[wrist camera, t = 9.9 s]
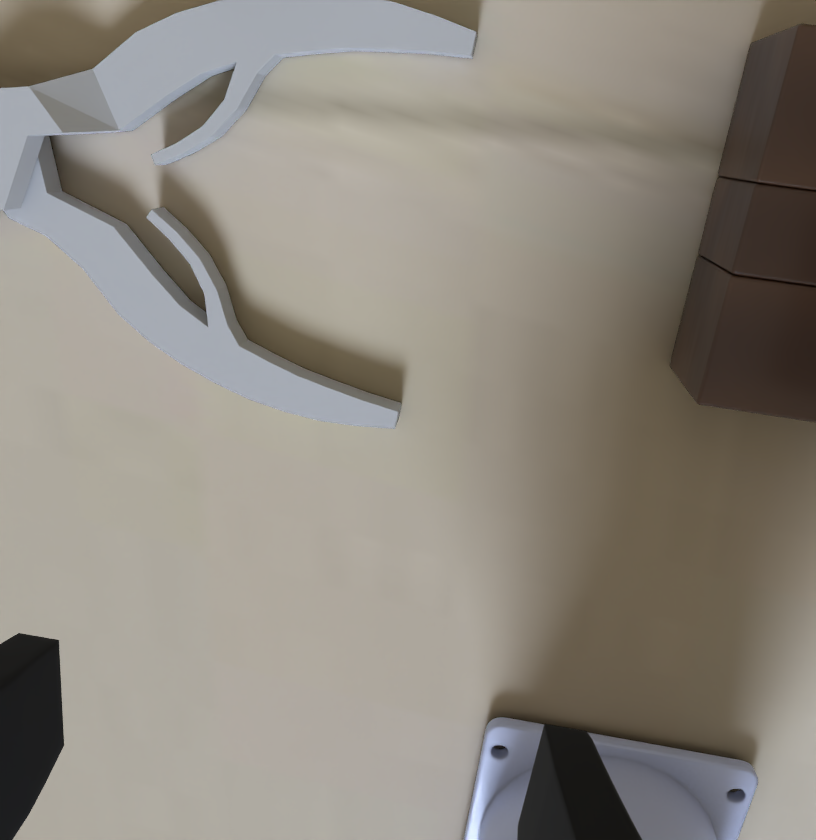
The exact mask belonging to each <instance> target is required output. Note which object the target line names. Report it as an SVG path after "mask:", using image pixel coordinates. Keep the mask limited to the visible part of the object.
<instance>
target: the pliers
mask: <svg viewBox="0 0 816 840" xmlns="http://www.w3.org/2000/svg"><path fill="white" fill-rule="evenodd" d="M476 40H477V33H476V32H475V31H473V30H470V29H468V28H465V27H463V26H460V25H458V24H455V23H453V22H450V21H448V20H445V19H443V18H440V17H438V16H435V15H433V14H430V13H427V12H423V11H420V10H417V9H414V8H411V7H408V6H405V5H402V4H398V3H395V2H392V1H387V0H220V1H215V2H212V3H208V4H205V5H202V6H198V7H195V8H191V9H188V10H185V11H181V12H178V13H175V14H173V15H171V16H169V17H166V18H164V19H162V20H160V21H158V22H156V23H154V24H152V25H150V26H148V27H146V28H144V29H142V30H139V31H137V32H136V33H134V34H133V35H132V36H131V37H130V38H128V39H127V40H126V41H125V42H124V43H123V44H121V45H120V46H119V47H118V48H117V49H115V50H114V51H113V52H112V53H111V54H110V55H108V56H107V57H106V58H105V59H104V60H102V61H101V62H100V63H99V64H98V65H97V66H95V67H94V68H93V69H90V70H87V71H83V72H79V73H76V74H72V75H68V76H65V77H61V78H57V79H54V80H50V81H46V82H43V83H39V84H36V85H32V86H27V87H11V88H0V210H3V211H4V212H5V214H6V215H7V217H8V218H10V219H12V220H14V221H16V222H18V223H20V224H22V225H24V226H26V227H28V228H30V229H32V230H34V231H37V232H39V233H41V234H43V235H45V236H46V237H47V238H49V239H50V240H51V241H52V242H53V243H54V244H55V245H57V246H58V247H59V248H60V249H61V250H62V251H63V252H64V253H66V254H67V255H68V256H69V257H70V258H71V259H72V260H73V261H75V262H76V263H77V264H78V265H79V266H80V267H81V268H82V269H83V270H84V271H85V272H86V273H87V275H88V276H89V277H90V279H91V280H92V281H93V282H94V284H95V285H96V286H97V288H98V289H99V290H100V291H101V293H102V294H103V295H104V297H105V298H106V299H107V300H108V302H109V303H110V304H111V306H112V307H113V308H114V310H115V311H116V312H117V313H118V314H119V315H120V316H121V317H122V318H123V319H124V320H125V321H126V322H128V323H129V324H130V325H131V326H132V327H133V328H134V329H135V330H137V331H138V332H139V333H140V334H141V335H142V336H143V337H144V338H146V339H147V340H148V341H149V342H150V343H152V344H153V345H155V346H156V347H157V348H159V349H160V350H162V351H163V352H165V353H166V354H168V355H169V356H170V357H172V358H173V359H175V360H176V361H178V362H179V363H181V364H182V365H184V366H186V367H187V368H189V369H191V370H193V371H194V372H196V373H198V374H200V375H201V376H203V377H205V378H207V379H209V380H210V381H212V382H214V383H216V384H218V385H220V386H222V387H224V388H226V389H228V390H230V391H232V392H235V393H237V394H239V395H241V396H243V397H245V398H247V399H249V400H252V401H255V402H258V403H261V404H264V405H267V406H269V407H272V408H275V409H278V410H281V411H284V412H287V413H291V414H295V415H299V416H303V417H307V418H311V419H315V420H318V421H324V422H331V423H338V424H346V425H353V426H364V427H378V428H391V429H395V427H396V425H397V422H398V419H399V414H400V409H401V404H402V403H400V402H397V401H393V400H390V399H387V398H384V397H381V396H378V395H374V394H371V393H368V392H365V391H362V390H360V389H357V388H354V387H352V386H349V385H346V384H344V383H341V382H338V381H336V380H333V379H330V378H328V377H325V376H322V375H320V374H317V373H315V372H312V371H310V370H307V369H304V368H302V367H300V366H298V365H296V364H294V363H292V362H290V361H288V360H286V359H284V358H282V357H280V356H278V355H276V354H274V353H272V352H270V351H268V350H267V349H265V348H263V347H261V346H259V345H257V344H255V343H253V342H251V341H250V340H248V339H247V337H246V335H245V334H244V332H243V330H242V328H241V327H240V325H239V323H238V321H237V319H236V316H235V313H234V309H233V306H232V303H231V299H230V296H229V292H228V289H227V286H226V284H225V282H224V280H223V278H222V276H221V274H220V273H219V271H218V269H217V267H216V265H215V263H214V261H213V260H212V258H211V256H210V254H209V253H208V252H207V251H206V249H205V248H204V247H203V246H202V245H201V244H200V243H199V241H198V240H197V239H196V238H195V237H194V236H193V235H192V233H191V232H190V231H189V230H188V229H187V228H186V227H185V226H184V225H183V224H182V223H180V222H179V221H178V220H177V219H176V218H175V217H174V216H173V215H172V214H171V213H169V212H168V211H167V210H166V209H165V208H164V207H161V208H156V209H152V210H151V211H150V213H149V214H148V216H147V217H146V218H147V219H148V220H149V221H150V222H151V223H153V224H154V225H155V226H156V227H157V228H158V229H159V230H160V231H161V232H162V233H163V234H164V235H165V236H166V237H167V238H168V239H169V240H170V241H171V242H172V243H173V244H174V246H175V247H176V248H177V249H178V250H179V252H180V253H181V254H182V255H183V256H184V258H185V259H186V260H187V261H188V262H189V264H190V265H191V267H192V269H193V272H194V274H195V276H196V278H197V280H198V282H199V284H200V286H201V288H202V290H203V292H204V296H205V304H206V312H207V313H206V312H205V311H204V310H202V309H201V308H200V307H199V306H197V305H196V304H195V303H193V302H192V301H191V300H190V299H189V298H188V297H187V296H186V295H185V294H184V293H183V291H182V290H181V289H180V288H179V287H178V286H177V285H176V283H175V282H174V281H173V280H172V279H171V278H170V277H169V276H168V274H167V273H166V272H165V271H164V270H163V269H162V267H161V266H160V265H159V264H158V262H157V261H156V260H155V259H154V257H153V256H152V255H151V254H150V252H149V251H148V250H147V249H146V247H145V246H144V245H143V244H142V242H141V241H140V240H139V239H138V237H137V236H136V235H135V234H134V232H133V231H132V230H131V229H130V228H129V226H128V225H127V224H126V223H124V222H122V221H120V220H118V219H116V218H114V217H112V216H110V215H108V214H106V213H104V212H102V211H100V210H98V209H96V208H94V207H92V206H90V205H88V204H86V203H84V202H82V201H80V200H79V199H77V198H75V197H73V196H71V195H69V194H67V193H65V192H63V191H62V188H61V184H60V180H59V176H58V171H57V167H56V163H55V159H54V155H53V150H52V146H51V142H50V138H49V135H72V134H95V133H109V132H122V131H133V130H134V129H136V128H137V127H138V126H140V125H141V124H143V123H144V122H145V121H147V120H148V119H149V118H151V117H152V116H154V115H155V114H156V113H158V112H159V111H161V110H162V109H163V108H165V107H166V106H167V105H169V104H170V103H172V102H173V101H174V100H176V99H177V98H178V97H180V96H182V95H183V94H185V93H186V92H188V91H189V90H191V89H192V88H194V87H196V86H197V85H199V84H200V83H202V82H203V81H205V80H207V79H208V78H210V77H211V76H214V75H217V74H220V73H223V72H226V71H229V70H232V69H234V72H233V75H232V78H231V81H230V84H229V87H228V90H227V93H226V96H225V99H224V100H223V102H222V103H221V104H220V105H219V107H218V108H217V109H216V110H215V112H214V113H213V114H212V115H211V116H210V118H209V119H208V120H207V121H206V123H205V124H204V125H203V126H202V127H200V128H199V129H197V130H196V131H194V132H193V133H191V134H190V135H188V136H187V137H185V138H184V139H182V140H181V141H179V142H178V143H175V144H173V145H171V146H169V147H167V148H164V149H162V150H160V151H158V152H156V153H154V154H151V156H152V159H153V162H154V164H155V165H167V164H169V163H172V162H174V161H177V160H179V159H181V158H184V157H186V156H188V155H191V154H193V153H195V152H197V151H199V150H200V149H202V148H204V147H205V146H207V145H209V144H210V143H212V142H214V141H215V140H217V139H219V138H220V137H222V136H223V135H224V134H225V133H226V132H227V130H228V129H229V128H230V127H231V126H232V125H233V124H234V123H235V122H236V121H237V120H238V119H239V118H240V117H241V115H242V114H243V113H244V112H245V111H246V110H247V108H248V106H249V105H250V103H251V101H252V99H253V98H254V96H255V94H256V92H257V91H258V89H259V87H260V85H261V84H262V82H263V80H264V78H265V76H266V75H267V74H268V73H269V72H270V71H271V70H272V69H273V68H274V67H275V66H276V65H277V64H278V63H279V62H280V61H281V60H282V59H283V58H286V57H295V56H304V55H313V54H322V53H336V52H349V51H364V52H394V53H415V54H433V55H442V56H452V57H461V58H470V59H473V54H474V49H475V44H476Z"/></svg>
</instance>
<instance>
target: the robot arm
mask: <svg viewBox="0 0 816 840" xmlns="http://www.w3.org/2000/svg"><path fill="white" fill-rule="evenodd" d="M496 745H502V746H505V747H506V748H504V749H496V748H494V746H496ZM63 746H64V736H63V716H62V696H61V677H60V657H59V640H55V639H49V638H44V637H38V636H32V635H26V634H20V633H18V634H17V635H15V636H13V637H12V638H10V639H8V640H7V641H5V642H3V643H2V644H0V840H12V839H13V838H14V836H15V835H16V833H17V832H18V830H19V829H20V827H21V826H22V824H23V822H24V821H25V819H26V818H27V816H28V815H29V813H30V811H31V809H32V807H33V806H34V804H35V802H36V800H37V798H38V796H39V794H40V792H41V790H42V788H43V786H44V785H45V783H46V781H47V779H48V777H49V775H50V773H51V770H52V768H53V766H54V764H55V762H56V760H57V758H58V756H59V754H60V752H61V750H62V748H63ZM757 785H758V777H757V775H756V772H755V770H754V768H753V766H752V765H751V764H749V763H748V762H745V761H742V760H737V759H732V758H726V757H721V756H715V755H710V754H704V753H699V752H693V751H688V750H682V749H677V748H671V747H666V746H660V745H655V744H649V743H644V742H638V741H633V740H627V739H622V738H616V737H610V736H605V735H599V734H594V733H588V732H587V731H582V730H576V729H570V728H565V727H559V726H553V725H547V724H539V723H533V722H528V721H522V720H517V719H511V718H506V717H498V718H495V719H492V720H491V721H490V722H489V723H488V725H487V727H486V730H485V735H484V740H483V745H482V750H481V755H480V760H479V765H478V770H477V775H476V780H475V785H474V790H473V795H472V800H471V805H470V810H469V815H468V820H467V825H466V830H465V835H464V840H737V839H738V837H739V834H740V831H741V828H742V826H743V823H744V820H745V818H746V815H747V812H748V809H749V807H750V804H751V801H752V798H753V796H754V793H755V790H756V788H757ZM732 789H739V790H738V791H736V792H729V791H730V790H732Z"/></svg>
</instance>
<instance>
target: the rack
mask: <svg viewBox="0 0 816 840" xmlns="http://www.w3.org/2000/svg"><path fill="white" fill-rule="evenodd" d="M718 175H719V176H720V177H719V178H718V179H717V181H716V185H715V189H714V193H713V197H712V201H711V205H710V209H709V213H708V217H707V220H706V224H705V228H704V232H703V236H702V240H701V244H700V248H699V254H700V255H701V256H698V257H697V259H696V263H695V267H694V271H693V275H692V279H691V283H690V287H689V291H688V295H687V299H686V303H685V307H684V311H683V315H682V319H681V323H680V326H679V330H678V334H677V338H676V342H675V346H674V350H673V354H672V358H671V362H670V367H671V369H672V370H673V371H674V373H675V374H676V376H677V377H678V378H679V380H680V381H681V382H682V384H683V385H684V386H685V388H686V389H687V391H688V392H689V393H690V395H691V396H692V397H693V399H694V400H695V401H696V403H697V404H699V405H705V406H712V407H719V408H725V409H732V410H738V411H745V412H751V413H758V414H764V415H771V416H777V417H784V418H791V419H797V420H804V421H810V422H816V25H810V24H799V25H796V26H794V27H791V28H789V29H786V30H784V31H781V32H778V33H776V34H773V35H771V36H768V37H766V38H763V39H760V40H758V41H755V42H753V43H752V44H751V45H750V49H749V53H748V57H747V61H746V65H745V69H744V73H743V77H742V81H741V85H740V89H739V93H738V97H737V101H736V105H735V109H734V112H733V116H732V120H731V124H730V128H729V132H728V136H727V140H726V144H725V148H724V152H723V156H722V160H721V164H720V168H719V172H718Z"/></svg>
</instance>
